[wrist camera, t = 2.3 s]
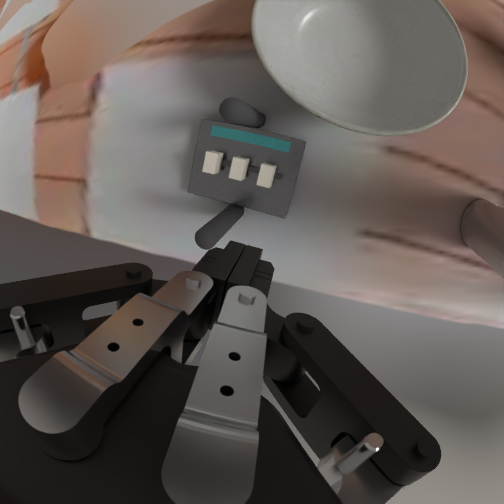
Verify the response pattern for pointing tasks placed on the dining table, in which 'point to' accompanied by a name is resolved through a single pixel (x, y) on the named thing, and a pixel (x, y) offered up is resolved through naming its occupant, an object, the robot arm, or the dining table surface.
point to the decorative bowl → (364, 60)
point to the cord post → (218, 226)
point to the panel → (258, 151)
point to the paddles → (238, 168)
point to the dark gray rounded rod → (241, 113)
